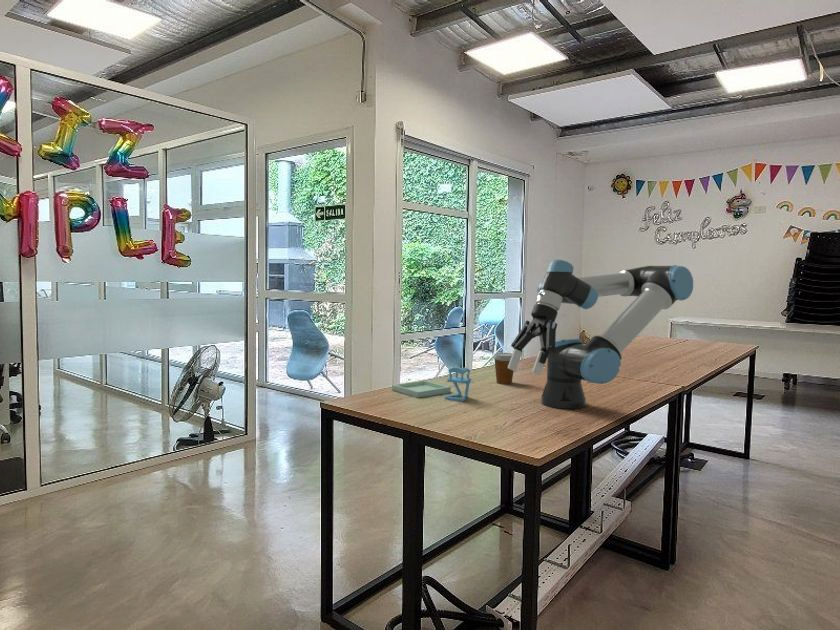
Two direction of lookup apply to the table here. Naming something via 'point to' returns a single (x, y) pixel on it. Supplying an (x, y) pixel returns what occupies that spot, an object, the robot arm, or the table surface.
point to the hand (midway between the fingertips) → (523, 371)
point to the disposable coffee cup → (503, 368)
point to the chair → (459, 380)
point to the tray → (421, 388)
